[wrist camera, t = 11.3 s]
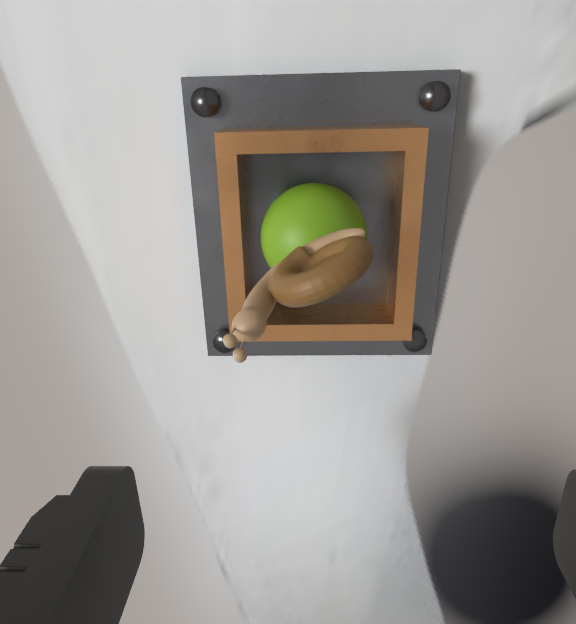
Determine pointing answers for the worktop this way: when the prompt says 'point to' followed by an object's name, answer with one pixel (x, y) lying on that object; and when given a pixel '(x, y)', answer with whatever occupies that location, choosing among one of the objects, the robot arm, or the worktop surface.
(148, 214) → the worktop surface
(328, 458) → the worktop surface
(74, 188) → the worktop surface
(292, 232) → the snail figurine
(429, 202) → the socket plate
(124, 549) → the robot arm
